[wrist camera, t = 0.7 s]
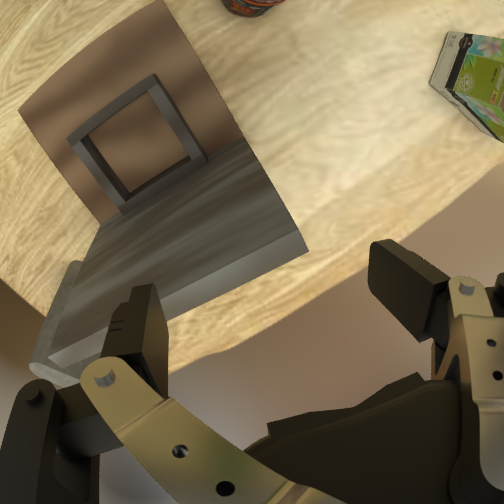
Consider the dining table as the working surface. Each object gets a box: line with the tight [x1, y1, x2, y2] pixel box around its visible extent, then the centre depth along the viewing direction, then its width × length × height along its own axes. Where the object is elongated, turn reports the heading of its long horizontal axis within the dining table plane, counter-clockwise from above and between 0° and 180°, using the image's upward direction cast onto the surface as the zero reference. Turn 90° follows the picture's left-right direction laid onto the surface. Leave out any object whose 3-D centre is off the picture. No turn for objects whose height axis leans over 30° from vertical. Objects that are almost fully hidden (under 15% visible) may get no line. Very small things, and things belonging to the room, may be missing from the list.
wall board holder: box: [18, 0, 309, 369], centre depth 20 cm, size 20×20×21 cm
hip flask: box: [29, 261, 102, 388], centre depth 33 cm, size 16×4×20 cm, turn 44°
